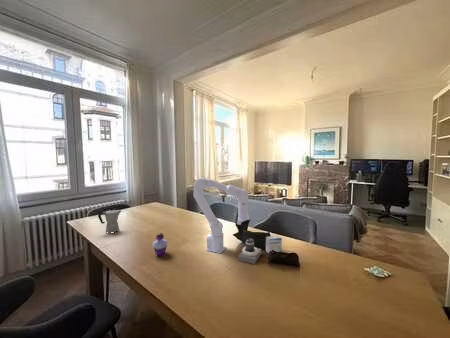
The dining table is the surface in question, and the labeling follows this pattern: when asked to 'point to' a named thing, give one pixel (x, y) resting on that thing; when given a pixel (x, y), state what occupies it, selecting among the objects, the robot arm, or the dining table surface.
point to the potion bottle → (160, 245)
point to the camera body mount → (249, 255)
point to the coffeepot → (110, 220)
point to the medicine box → (274, 243)
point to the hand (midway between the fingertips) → (243, 233)
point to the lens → (249, 245)
